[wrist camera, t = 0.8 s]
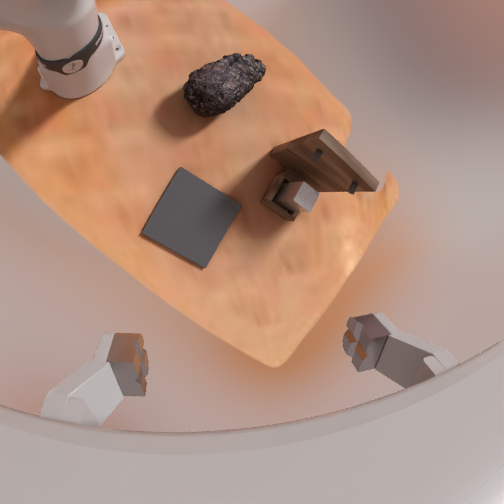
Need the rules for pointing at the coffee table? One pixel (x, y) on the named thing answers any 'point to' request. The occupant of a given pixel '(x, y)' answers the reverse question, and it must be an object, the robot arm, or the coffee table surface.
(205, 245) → the rubber mat
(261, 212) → the coffee table surface
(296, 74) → the coffee table surface
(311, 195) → the light gray square block
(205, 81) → the dark porous rock
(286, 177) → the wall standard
